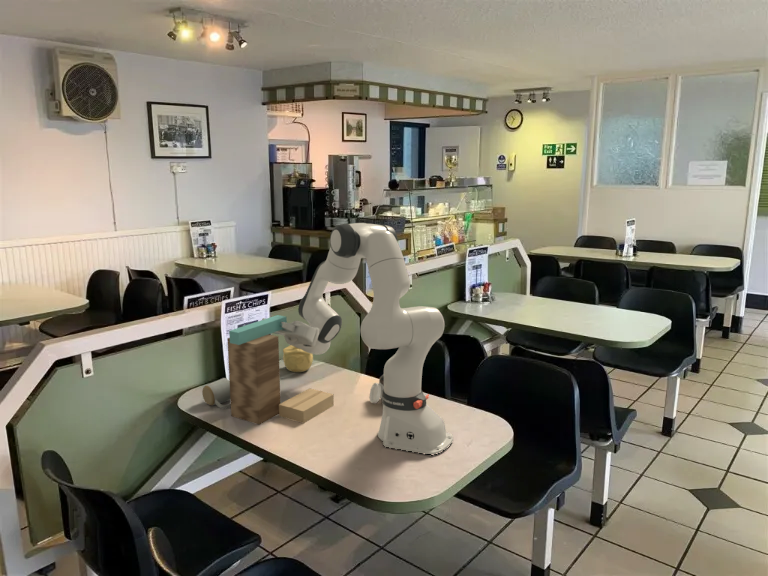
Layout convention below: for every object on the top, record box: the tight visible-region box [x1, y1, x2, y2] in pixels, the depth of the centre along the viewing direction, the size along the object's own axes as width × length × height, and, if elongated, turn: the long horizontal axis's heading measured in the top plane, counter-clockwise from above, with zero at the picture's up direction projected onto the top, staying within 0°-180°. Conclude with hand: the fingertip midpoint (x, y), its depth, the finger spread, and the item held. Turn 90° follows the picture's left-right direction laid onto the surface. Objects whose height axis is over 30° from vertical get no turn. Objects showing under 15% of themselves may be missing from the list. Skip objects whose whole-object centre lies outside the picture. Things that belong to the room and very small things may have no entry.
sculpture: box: [282, 345, 314, 373], centre depth 228 cm, size 11×12×11 cm
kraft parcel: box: [278, 387, 335, 424], centre depth 191 cm, size 10×16×4 cm, turn 149°
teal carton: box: [228, 314, 288, 345], centre depth 185 cm, size 4×22×4 cm, turn 149°
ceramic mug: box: [201, 377, 231, 409], centre depth 196 cm, size 11×8×8 cm
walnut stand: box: [227, 334, 282, 426], centre depth 186 cm, size 12×10×26 cm
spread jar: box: [369, 373, 384, 404], centre depth 198 cm, size 12×11×12 cm
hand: (273, 322), depth 190 cm, fingers open, 5 cm apart
